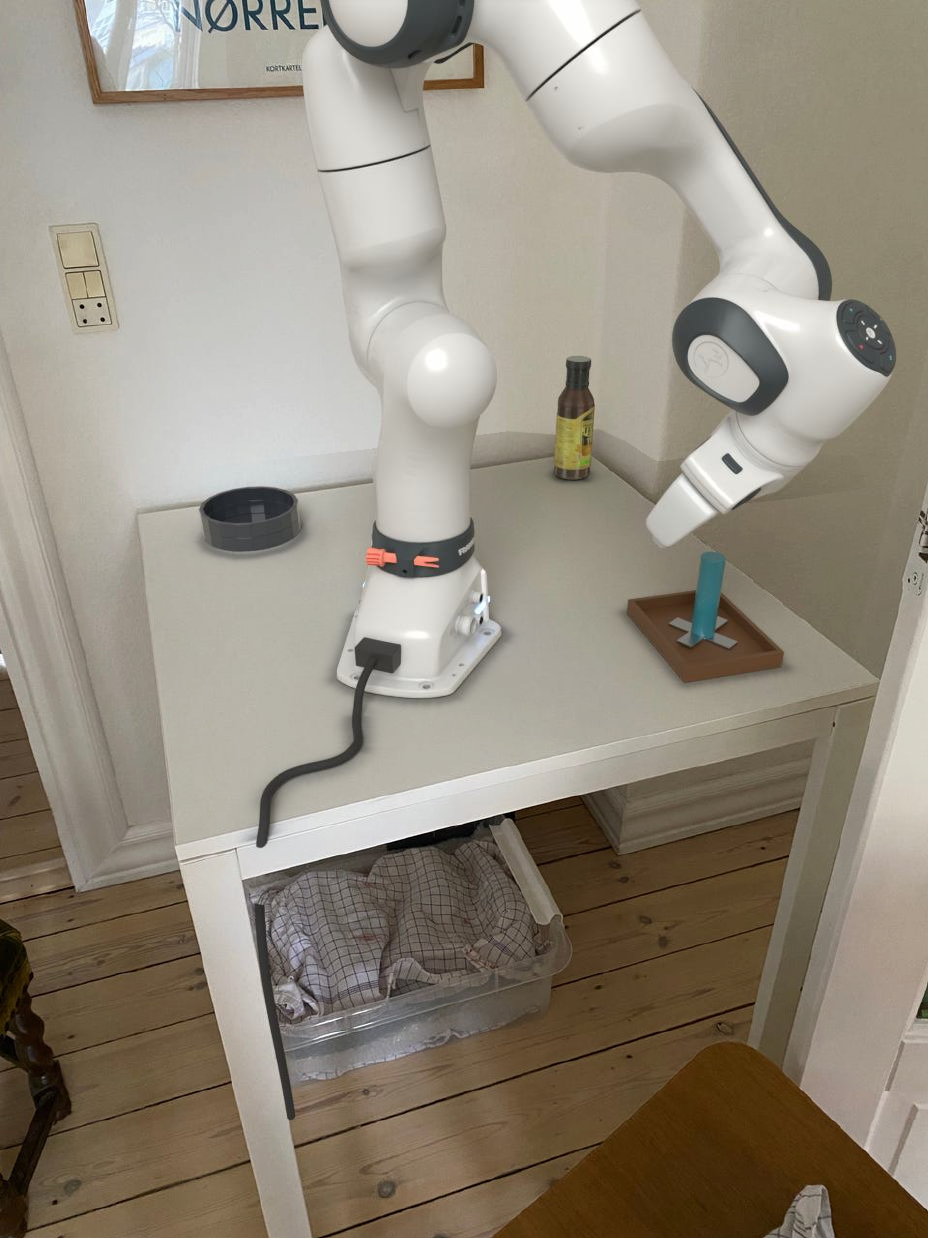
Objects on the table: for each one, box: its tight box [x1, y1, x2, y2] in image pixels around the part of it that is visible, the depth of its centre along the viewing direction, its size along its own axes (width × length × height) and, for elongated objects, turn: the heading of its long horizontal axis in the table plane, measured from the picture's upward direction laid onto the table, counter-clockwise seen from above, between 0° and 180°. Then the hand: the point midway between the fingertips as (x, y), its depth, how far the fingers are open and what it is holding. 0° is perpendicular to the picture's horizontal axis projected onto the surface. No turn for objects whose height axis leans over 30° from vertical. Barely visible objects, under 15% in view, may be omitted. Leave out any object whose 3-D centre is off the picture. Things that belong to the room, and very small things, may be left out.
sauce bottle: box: [553, 355, 596, 481], centre depth 153 cm, size 6×6×20 cm
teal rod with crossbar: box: [668, 551, 738, 650], centre depth 109 cm, size 8×8×10 cm
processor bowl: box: [198, 485, 302, 553], centre depth 137 cm, size 14×14×5 cm
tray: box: [626, 589, 785, 684], centre depth 111 cm, size 16×12×2 cm
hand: (685, 522), depth 101 cm, fingers open, 8 cm apart
